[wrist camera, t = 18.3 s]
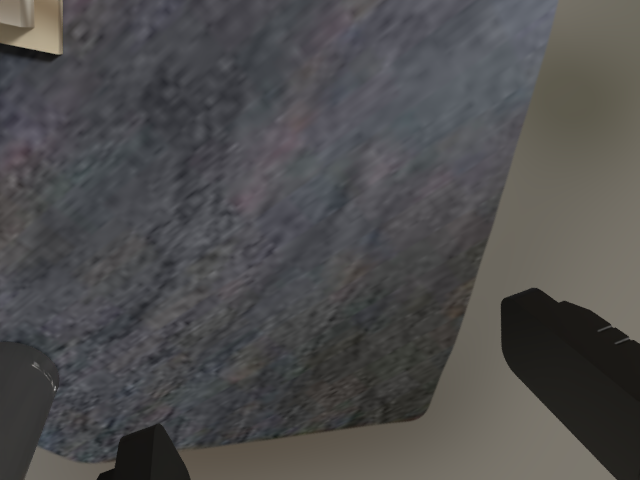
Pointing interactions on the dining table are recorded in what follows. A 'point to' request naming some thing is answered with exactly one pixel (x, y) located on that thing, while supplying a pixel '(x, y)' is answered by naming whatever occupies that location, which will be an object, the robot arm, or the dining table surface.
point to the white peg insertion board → (32, 24)
